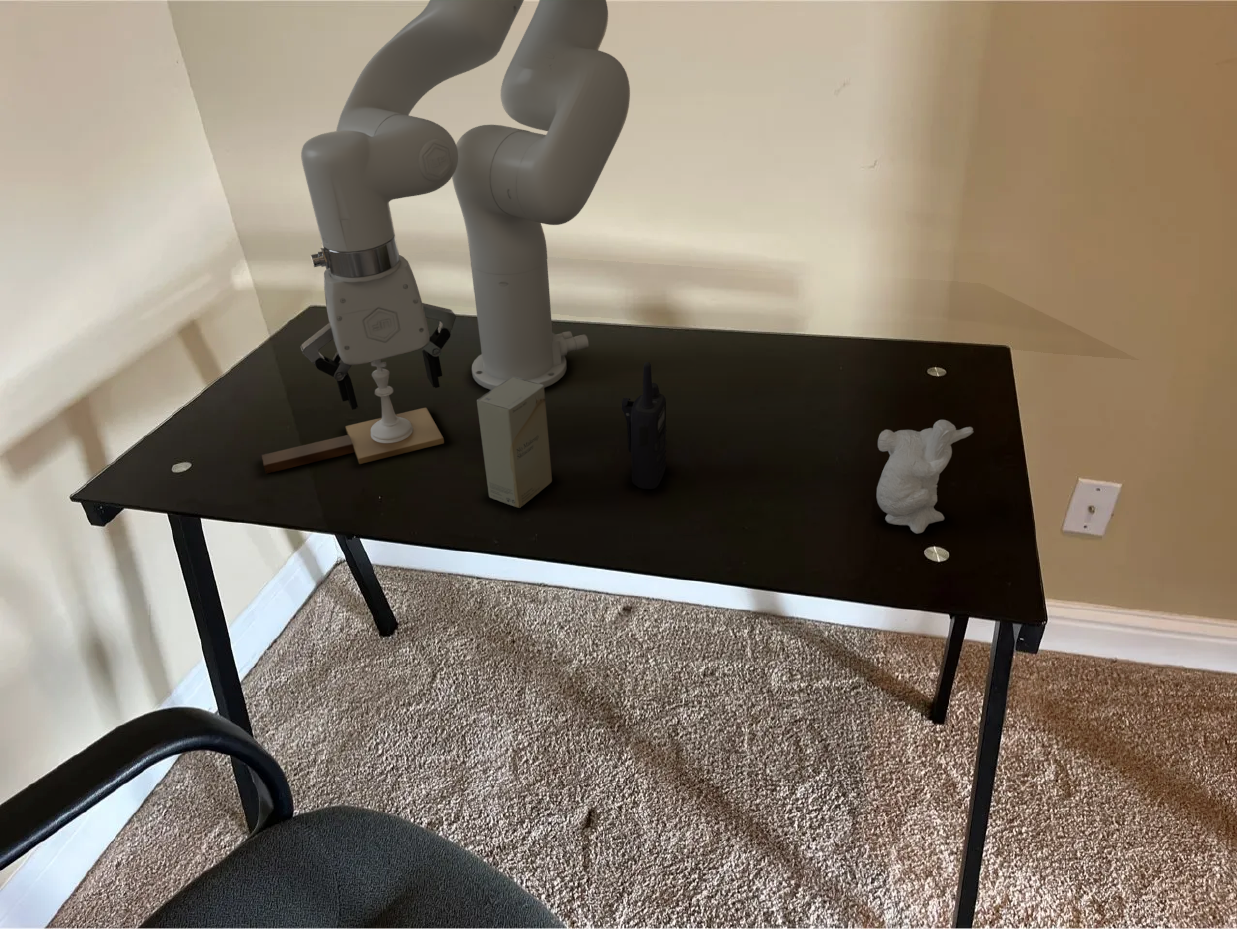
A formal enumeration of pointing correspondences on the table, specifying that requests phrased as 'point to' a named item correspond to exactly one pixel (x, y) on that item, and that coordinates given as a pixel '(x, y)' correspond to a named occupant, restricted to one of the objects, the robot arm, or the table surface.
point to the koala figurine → (915, 473)
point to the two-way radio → (647, 433)
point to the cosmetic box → (515, 441)
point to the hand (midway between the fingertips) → (393, 393)
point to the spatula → (359, 444)
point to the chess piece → (387, 411)
